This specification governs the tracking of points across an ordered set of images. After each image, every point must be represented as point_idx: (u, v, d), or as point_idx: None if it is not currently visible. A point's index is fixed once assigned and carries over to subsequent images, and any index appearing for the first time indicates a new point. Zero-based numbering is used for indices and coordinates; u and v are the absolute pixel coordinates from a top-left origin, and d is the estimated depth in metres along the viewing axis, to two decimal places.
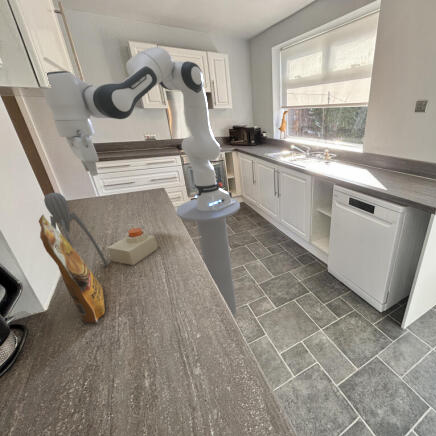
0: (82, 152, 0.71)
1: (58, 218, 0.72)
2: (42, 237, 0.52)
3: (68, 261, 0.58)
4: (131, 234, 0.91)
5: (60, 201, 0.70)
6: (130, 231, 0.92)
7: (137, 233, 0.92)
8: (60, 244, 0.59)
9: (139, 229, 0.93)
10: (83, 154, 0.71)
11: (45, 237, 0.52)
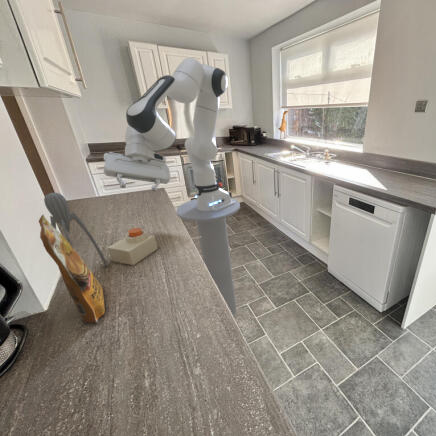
0: None
1: (58, 218, 0.72)
2: (42, 237, 0.52)
3: (68, 261, 0.58)
4: (131, 234, 0.91)
5: (60, 201, 0.70)
6: (130, 231, 0.92)
7: (137, 233, 0.92)
8: (60, 244, 0.59)
9: (139, 229, 0.93)
10: None
11: (45, 237, 0.52)
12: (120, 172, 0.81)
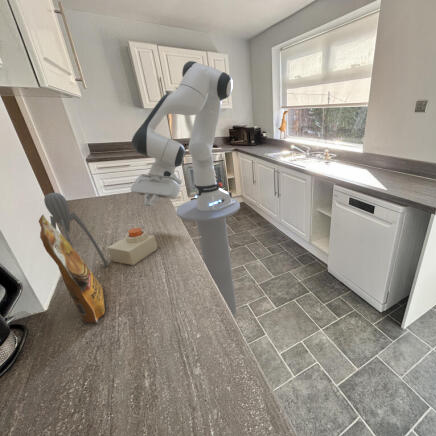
0: None
1: (58, 218, 0.72)
2: (42, 237, 0.52)
3: (68, 261, 0.58)
4: (131, 234, 0.91)
5: (60, 201, 0.70)
6: (130, 231, 0.92)
7: (137, 233, 0.92)
8: (60, 244, 0.59)
9: (139, 229, 0.93)
10: None
11: (45, 237, 0.52)
12: (138, 192, 0.98)
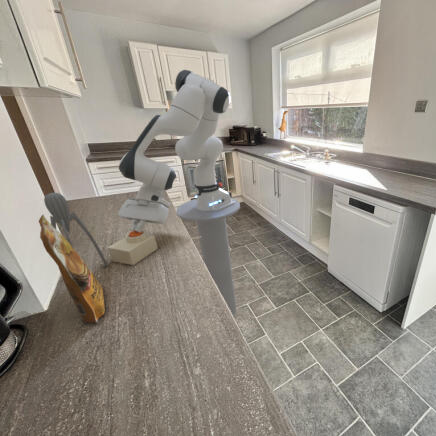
0: None
1: (58, 218, 0.72)
2: (42, 237, 0.52)
3: (68, 261, 0.58)
4: None
5: (60, 201, 0.70)
6: (131, 233, 0.92)
7: (138, 235, 0.92)
8: (60, 244, 0.59)
9: None
10: None
11: (45, 237, 0.52)
12: (125, 217, 0.94)
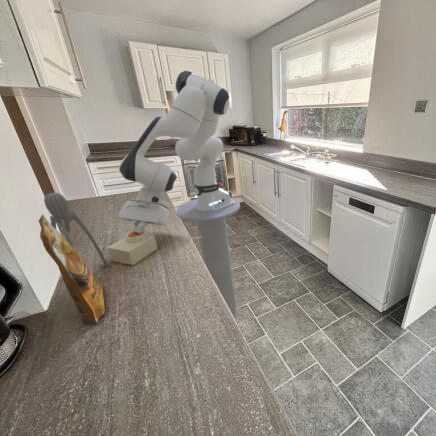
0: None
1: (58, 218, 0.72)
2: (42, 237, 0.52)
3: (68, 261, 0.58)
4: None
5: (60, 201, 0.70)
6: (131, 235, 0.92)
7: None
8: (60, 244, 0.59)
9: (140, 233, 0.94)
10: None
11: (45, 237, 0.52)
12: (126, 218, 0.95)
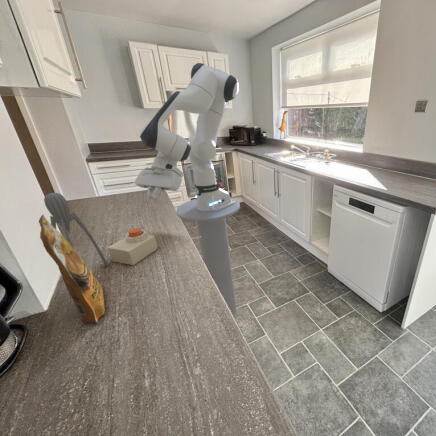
0: None
1: (58, 218, 0.72)
2: (42, 237, 0.52)
3: (68, 261, 0.58)
4: (131, 234, 0.91)
5: (60, 201, 0.70)
6: (130, 231, 0.92)
7: (137, 233, 0.92)
8: (60, 244, 0.59)
9: (139, 229, 0.93)
10: None
11: (45, 237, 0.52)
12: (142, 184, 1.01)
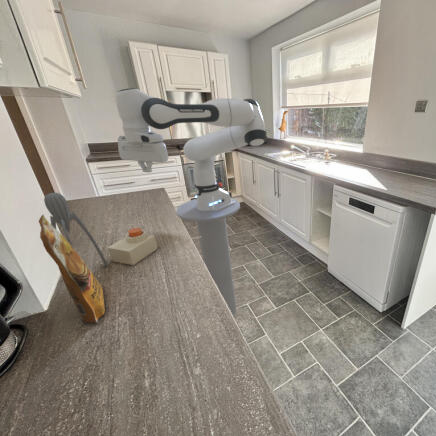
0: None
1: (58, 218, 0.72)
2: (42, 237, 0.52)
3: (68, 261, 0.58)
4: (131, 234, 0.91)
5: (60, 201, 0.70)
6: (130, 231, 0.92)
7: (137, 233, 0.92)
8: (60, 244, 0.59)
9: (139, 229, 0.93)
10: None
11: (45, 237, 0.52)
12: None
